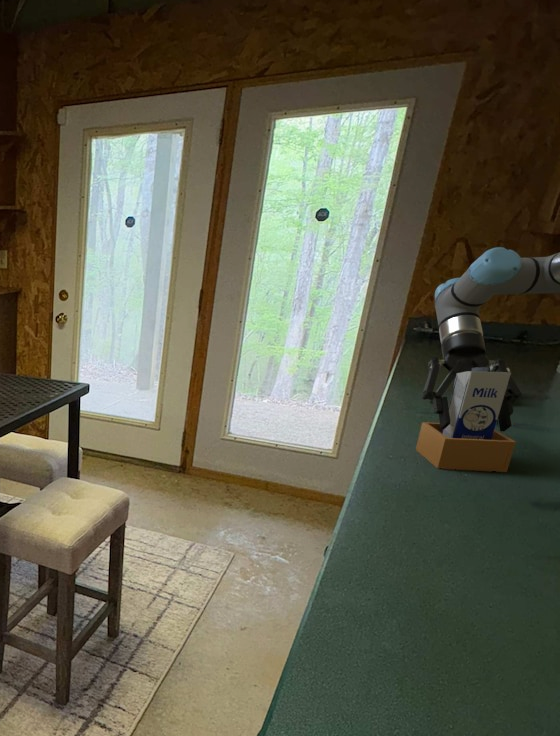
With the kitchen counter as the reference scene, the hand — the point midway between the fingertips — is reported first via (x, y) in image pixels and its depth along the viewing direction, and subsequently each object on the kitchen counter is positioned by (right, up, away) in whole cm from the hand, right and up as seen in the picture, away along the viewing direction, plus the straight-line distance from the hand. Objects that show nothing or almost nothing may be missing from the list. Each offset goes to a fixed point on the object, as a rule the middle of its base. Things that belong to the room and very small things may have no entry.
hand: (475, 427), depth 133 cm
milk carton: (+1, -6, +6) cm, 9 cm away
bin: (+1, -7, +6) cm, 9 cm away
